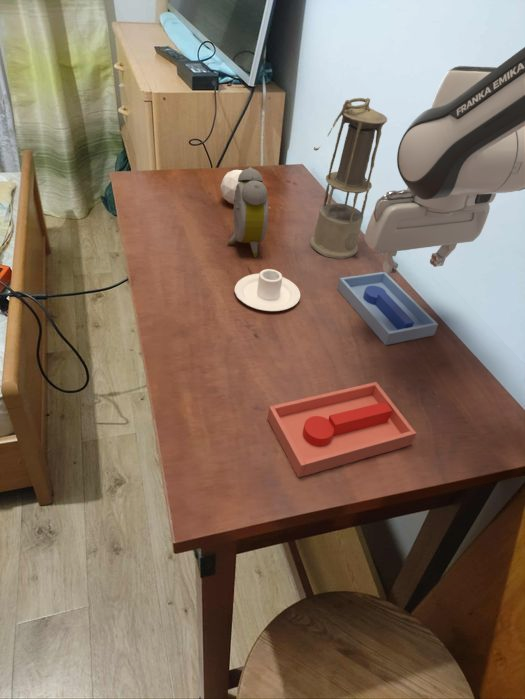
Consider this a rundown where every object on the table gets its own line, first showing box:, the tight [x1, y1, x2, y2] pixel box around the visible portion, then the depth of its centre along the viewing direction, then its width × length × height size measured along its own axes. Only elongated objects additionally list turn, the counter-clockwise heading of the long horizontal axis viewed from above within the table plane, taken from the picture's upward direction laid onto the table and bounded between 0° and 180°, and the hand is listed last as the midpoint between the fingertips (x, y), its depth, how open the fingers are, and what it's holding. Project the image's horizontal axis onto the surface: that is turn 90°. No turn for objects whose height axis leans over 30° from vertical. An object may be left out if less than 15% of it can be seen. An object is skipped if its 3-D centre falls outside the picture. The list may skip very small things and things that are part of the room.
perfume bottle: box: [220, 169, 244, 205], centre depth 120 cm, size 8×8×12 cm
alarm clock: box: [226, 166, 269, 258], centre depth 102 cm, size 12×7×15 cm, turn 9°
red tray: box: [267, 381, 417, 478], centre depth 69 cm, size 17×10×2 cm, turn 112°
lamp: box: [309, 97, 388, 260], centre depth 100 cm, size 10×13×30 cm
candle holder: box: [233, 268, 301, 312], centre depth 92 cm, size 12×12×4 cm
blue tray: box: [336, 271, 439, 346], centre depth 92 cm, size 17×10×2 cm, turn 22°
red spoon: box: [303, 402, 392, 446], centre depth 69 cm, size 13×4×2 cm, turn 112°
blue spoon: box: [363, 286, 414, 330], centre depth 91 cm, size 13×4×2 cm, turn 22°
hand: (412, 268), depth 84 cm, fingers open, 8 cm apart
